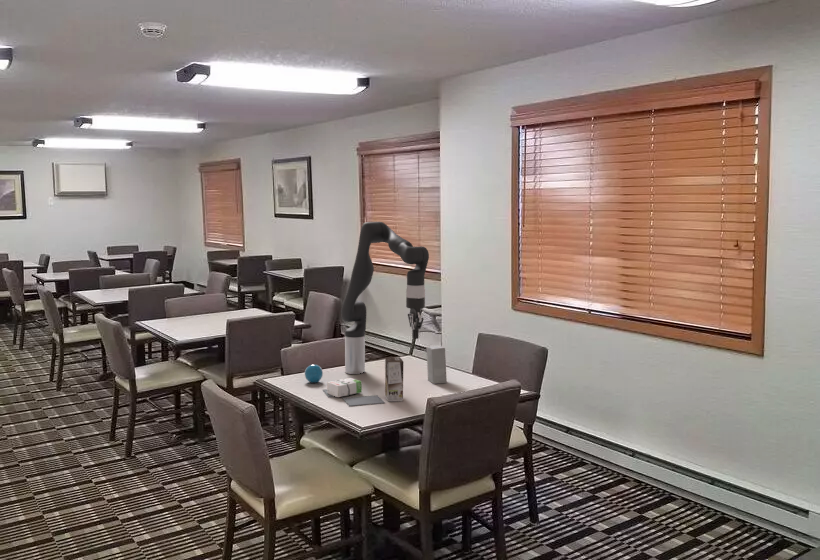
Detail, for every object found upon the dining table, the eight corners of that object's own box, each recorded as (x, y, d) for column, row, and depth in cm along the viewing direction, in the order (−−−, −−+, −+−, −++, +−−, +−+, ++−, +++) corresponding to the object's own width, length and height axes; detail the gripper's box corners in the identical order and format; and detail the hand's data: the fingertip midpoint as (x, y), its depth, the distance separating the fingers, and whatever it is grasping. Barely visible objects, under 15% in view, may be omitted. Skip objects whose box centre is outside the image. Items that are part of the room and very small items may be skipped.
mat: (322, 390, 289) (322, 389, 289) (367, 386, 296) (367, 385, 296) (336, 407, 265) (336, 406, 265) (385, 403, 271) (385, 402, 271)
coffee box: (403, 401, 274) (403, 361, 272) (387, 401, 273) (387, 362, 271) (400, 395, 283) (400, 356, 281) (384, 395, 282) (384, 357, 280)
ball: (310, 379, 308) (310, 361, 307) (326, 381, 305) (326, 363, 304) (301, 383, 301) (300, 365, 300) (316, 385, 297) (316, 367, 297)
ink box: (361, 381, 284) (338, 385, 276) (362, 392, 284) (338, 397, 277) (349, 377, 290) (326, 381, 283) (349, 388, 291) (326, 393, 283)
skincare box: (447, 383, 302) (447, 348, 301) (431, 384, 300) (431, 348, 299) (440, 378, 310) (441, 344, 309) (425, 379, 308) (425, 345, 307)
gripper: (401, 294, 282) (401, 336, 283) (412, 298, 269) (411, 342, 271) (418, 293, 284) (418, 335, 286) (430, 297, 272) (429, 340, 273)
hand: (415, 338), depth 278 cm, fingers closed
